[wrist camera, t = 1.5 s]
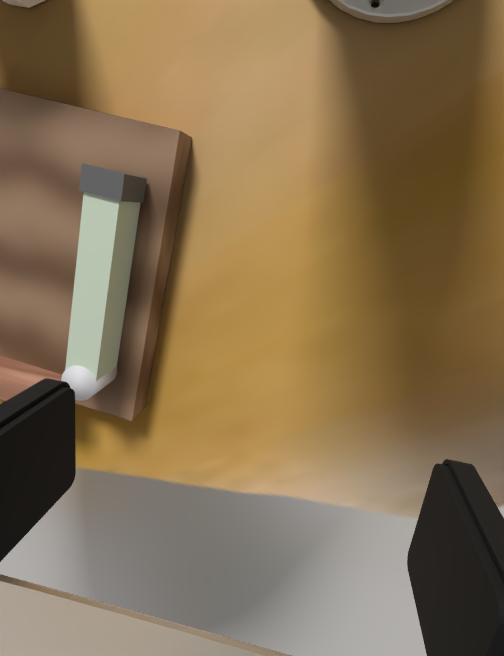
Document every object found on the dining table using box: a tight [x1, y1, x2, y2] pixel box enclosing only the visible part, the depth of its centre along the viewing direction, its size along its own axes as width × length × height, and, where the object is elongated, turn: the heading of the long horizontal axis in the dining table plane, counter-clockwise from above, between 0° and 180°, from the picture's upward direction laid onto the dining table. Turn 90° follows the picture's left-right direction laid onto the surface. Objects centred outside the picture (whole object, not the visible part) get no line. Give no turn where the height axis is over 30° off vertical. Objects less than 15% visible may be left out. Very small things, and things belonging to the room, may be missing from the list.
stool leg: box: [61, 163, 147, 401], centre depth 28 cm, size 16×3×3 cm, turn 166°
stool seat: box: [0, 89, 192, 421], centre depth 31 cm, size 22×18×6 cm
